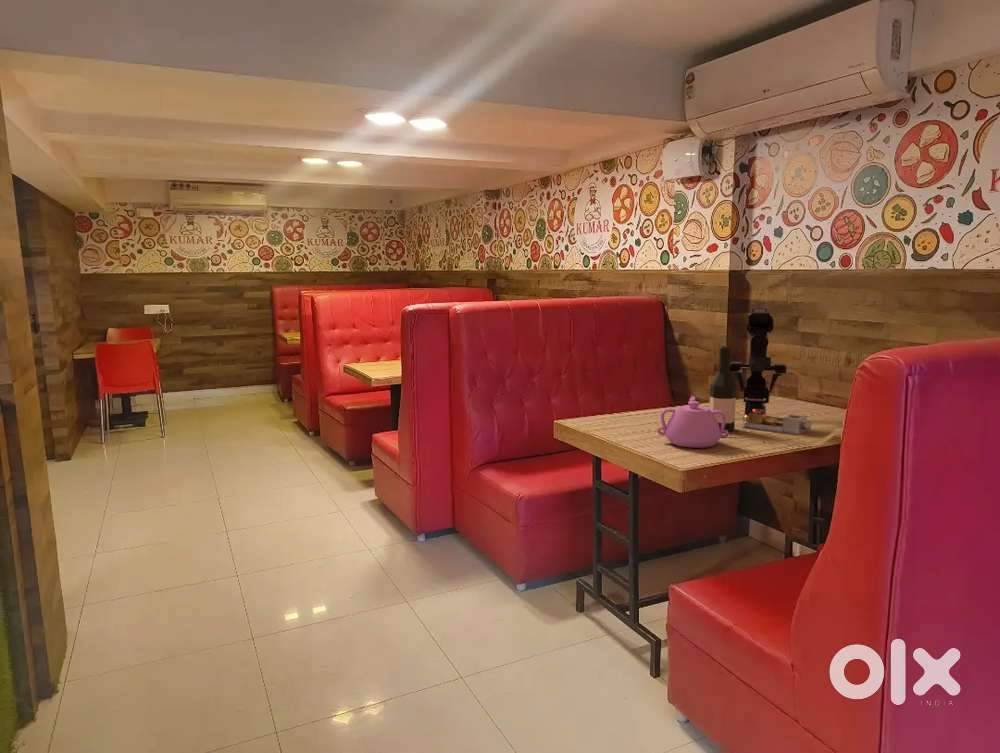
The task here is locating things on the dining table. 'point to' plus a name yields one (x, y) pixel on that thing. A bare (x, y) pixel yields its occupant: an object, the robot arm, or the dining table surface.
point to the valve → (759, 418)
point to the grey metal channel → (784, 426)
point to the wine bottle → (724, 391)
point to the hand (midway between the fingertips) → (756, 391)
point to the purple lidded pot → (693, 426)
